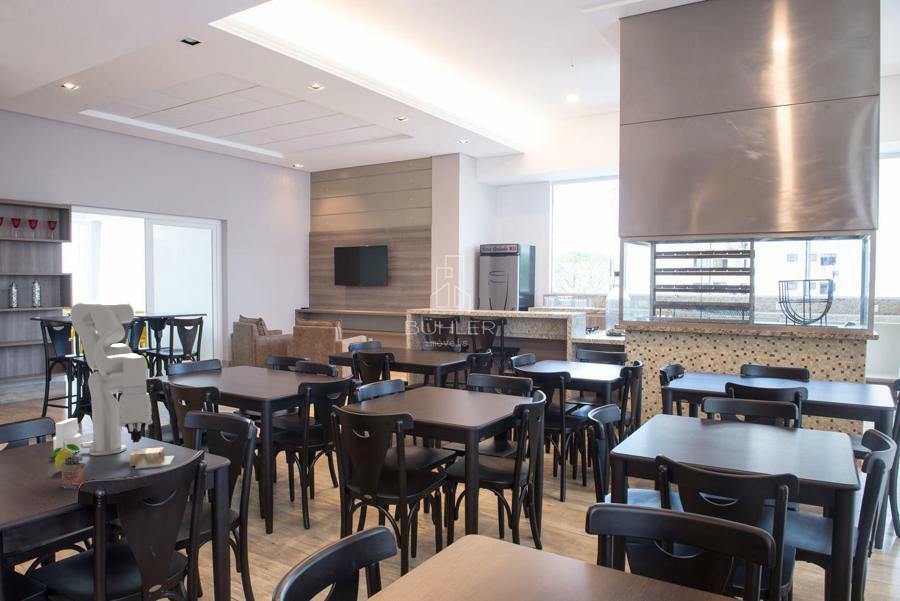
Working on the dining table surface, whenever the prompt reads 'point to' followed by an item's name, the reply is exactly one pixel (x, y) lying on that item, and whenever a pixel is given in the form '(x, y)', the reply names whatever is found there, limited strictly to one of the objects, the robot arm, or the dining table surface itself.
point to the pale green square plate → (165, 462)
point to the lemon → (63, 454)
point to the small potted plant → (72, 472)
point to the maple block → (147, 456)
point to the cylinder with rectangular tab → (67, 434)
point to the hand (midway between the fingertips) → (136, 441)
